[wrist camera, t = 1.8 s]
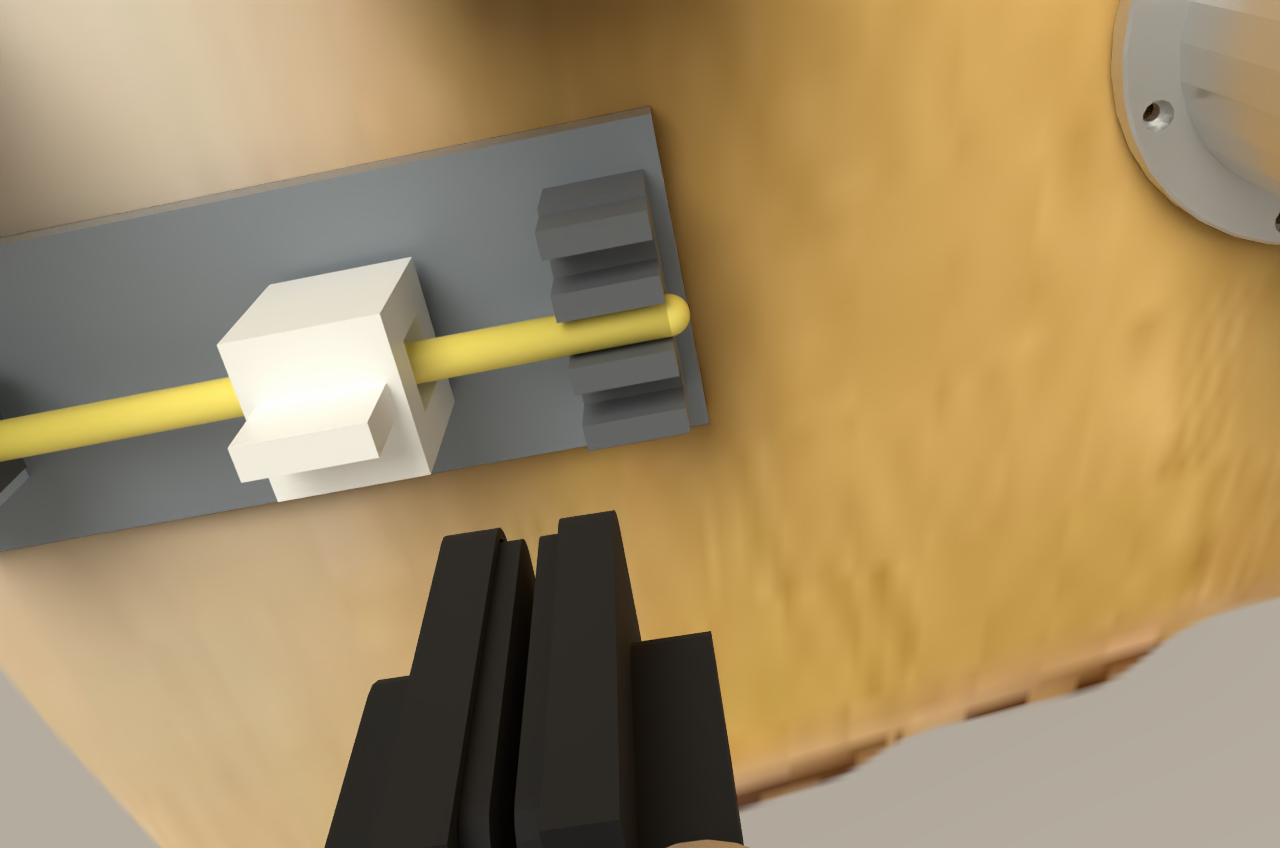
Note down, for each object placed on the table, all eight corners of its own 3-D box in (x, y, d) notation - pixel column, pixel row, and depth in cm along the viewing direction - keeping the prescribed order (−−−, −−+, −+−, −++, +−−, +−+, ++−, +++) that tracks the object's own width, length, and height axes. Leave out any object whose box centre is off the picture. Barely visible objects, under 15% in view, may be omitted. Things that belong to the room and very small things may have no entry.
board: (650, 105, 33) (653, 142, 29) (706, 408, 37) (717, 480, 33) (-171, 272, 35) (-288, 331, 30) (-26, 540, 39) (-111, 626, 35)
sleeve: (412, 256, 33) (359, 348, 27) (455, 401, 35) (416, 519, 29) (269, 284, 34) (183, 382, 27) (320, 426, 36) (252, 548, 29)
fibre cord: (684, 284, 32) (687, 298, 31) (692, 323, 32) (694, 338, 31) (-72, 428, 33) (-95, 446, 32) (-54, 462, 34) (-75, 482, 33)
